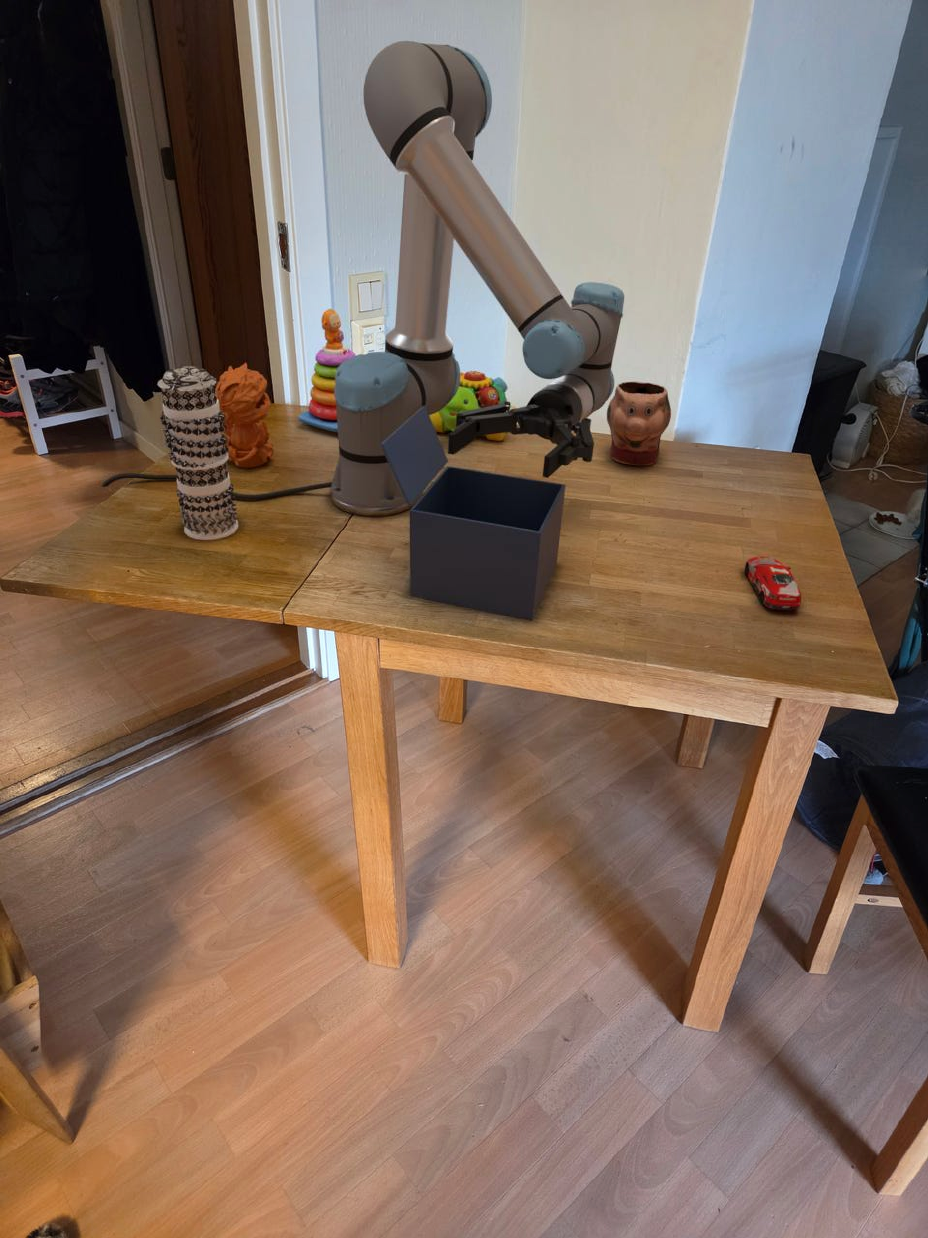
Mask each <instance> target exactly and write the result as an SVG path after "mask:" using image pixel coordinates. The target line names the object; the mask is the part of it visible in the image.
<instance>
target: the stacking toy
mask: <svg viewBox="0 0 928 1238" xmlns="http://www.w3.org/2000/svg"><path fill="white" fill-rule="evenodd" d="M341 326H342V322H341V318H340V315H339V313H338V312H337V311H335V310H334V309H333V308H328V309H326V310H325V311H324V312H323V313H322V316H321V329H322V330H324V338H325V340H326V343H325V346H324V345H323V347H322V348H321V349H319V351H318V352H317V353H316V354H315V361H316V362H315V364H314V366H313V371H314V373H313V374H312V375H311V380H310V381H311V384H312V387H311V389H310V391H309V394H310V397H311V399H310V400H309V404H308V410H307V411H304V412H302V413H300V414H299V415H298V421H300V422H301V423H304V424H306V425H309V426H311V427H312V426H313V427H315V428H319V429H321V430H324V431H325V430H326V431H329V432H333V433H338V425H337V410H336V399H335V394H334V389H335V375H336V371H337V369H338V367H339V366H340V365H341V364H342V363H343V362H344V361H345V360H347V359H349V358H351V357H353V356H356V355H357V354H356V353H355V352H354V351H352V349H351V348H348V347H347V346H346V345H343V344H344V343H343V342H344V339H345V334H344V332H343V331H342V330H341V329H340V328H341Z"/></svg>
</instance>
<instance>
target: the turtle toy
mask: <svg viewBox="0 0 928 1238" xmlns="http://www.w3.org/2000/svg"><path fill="white" fill-rule="evenodd" d="M508 389H509V388H508V384H507V383H506V382H505V380H504V379H503V378H501V377H499V376H498V377H496V378H495V379H494V378H491V377H489V376H486V373H484V372H481V371H477V370H470V371H466V372H465V373H464V372H462V371H460V384H459V388H458V390H457V393H456V394H455V396H454V398H453V399H452V400H451V401H450V402H449V403H448V404H447V405H446V406H445V407H444V408H442V409H441V410H439V411H438V412H436V413H434V414H431V415H429V416H430V419H431V421H432V424H433V426H434V428H435V431H436V433H443V434H445V433H446V432H448V431H450V432H453V431H454V429H455V428H456V414H457V413H460V412H465V411H470V410H474V409H479V408H484V407H489V406H493V405H497V404H499V403H502V402H504V401H508V399H507V397H506V392H507V390H508ZM510 408H516V406H515V405H514V406H513V405H511V404H510ZM506 435H507V432H505V433H497V434H488V435H482V436H484V437H485V438H486V439H487V440H488V441H489V440H490V441H497V442H500V441H503V440H504V439H505V436H506Z"/></svg>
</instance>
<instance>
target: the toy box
mask: <svg viewBox="0 0 928 1238" xmlns="http://www.w3.org/2000/svg"><path fill="white" fill-rule="evenodd" d="M565 494H566V484H564V483H557V482H551V481H545V480H540V479H532V478H527V477H521V476H514V475H507V474H501V473H495V472H488V471H482V470H475V469H470V468H469V469H468V468H462V467H457V466H451V465H450V466H449V465H447V466H446V467H445V468H444V469H443V471H442V472H441V473H440V474H439V475H438V476H437V477H436V479H435V480H434V481H433V482H432V483H431V484H430V486H429V487H428V488H427V489H426V491H425V492H424V493H423V494H421V496H420V497H419V499H418V501H417V502H416V503H415V505H414V506H412V507H411V508H409V509H408V510H409V511H408V512H409V515H408V516H409V517H408V518H409V596H410V597H414V598H418V599H423V600H428V601H433V602H438V603H443V604H449V605H453V606H459V607H463V608H468V609H472V610H473V609H474V610H478V611H482V612H488V613H493V614H498V615H502V616H508V617H512V618H513V617H514V618H518V619H522V620H528V621H534V620H533V619H534V618H535V616H536V614H537V612H538V609H539V607H540V604H541V603H542V599H543V597H544V595H545V593H546V591H547V588H548V586H549V584H550V581H551V579H552V577H553V575H554V572H555V570H556V567H557V565H558V555H559V548H560V547H559V546H560V536H561V530H562V529H561V528H562V522H563V521H562V520H563V511H564V502H565Z"/></svg>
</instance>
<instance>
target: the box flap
mask: <svg viewBox="0 0 928 1238" xmlns="http://www.w3.org/2000/svg"><path fill="white" fill-rule="evenodd" d="M380 445H381V447H382V449H383V452H384V454H385V456H386V458H387V461H388V463H389V465H390V467H391V469H392V472H393V474H394V476H395V478H396V480H397V483H398V485H399V487H400V489H401V491H402V494H403V496H404V498H405V500H406V503H407V505H408V506H409V505H411V504H412V503H413V501H414V500H415V499H416V498H417V497H418V496H419V497H420V495H421V493H423V491H424V490H425V489H426V488H427V487H428V485H429V484H430V483H431V482H432V481H433V480H434V478H436V476H437V475H438V474H439V473H440V472H441V470H442V469H444V467H445V466H446V465H447V463H448V462H449V460H448V457H447V455H446V452H445V450H444V447H443V445H442V442H441V441H440V437H439V435H438V432H436V431H435V428H434V426H433V424H432V421H431V419H430V415H429V414H428V412H427V409H426V407H425V406H422V407H421V408H420V409H419V410H418V411H417V412H416V413H415V414H414V415H412V416H411V417H410V418H409V419H408V420H407V421H406V422H405V423H404V424H402V425H401V426H400V427H399V428H398V429H397V430H396V431H395V432H394V433H393V434H391V435H390V436H389V437H388V438H387V439H386V440H385V441H384V442H383V443H381V444H380Z"/></svg>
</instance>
